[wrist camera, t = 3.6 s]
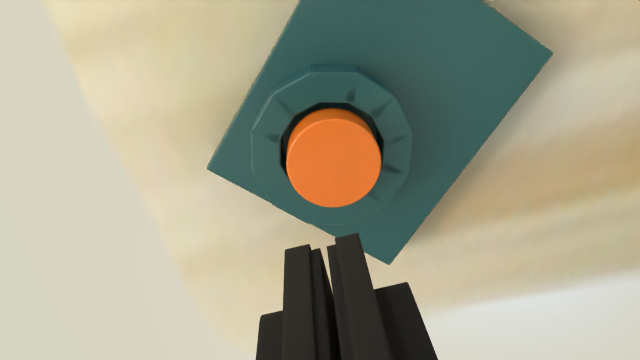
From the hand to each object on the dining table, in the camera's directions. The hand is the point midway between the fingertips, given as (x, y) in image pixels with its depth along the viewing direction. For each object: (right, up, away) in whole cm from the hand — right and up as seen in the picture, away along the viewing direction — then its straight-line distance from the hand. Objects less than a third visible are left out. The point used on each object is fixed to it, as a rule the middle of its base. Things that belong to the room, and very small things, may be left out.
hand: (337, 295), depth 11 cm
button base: (+2, +6, +12) cm, 13 cm away
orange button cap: (0, +4, +9) cm, 10 cm away
